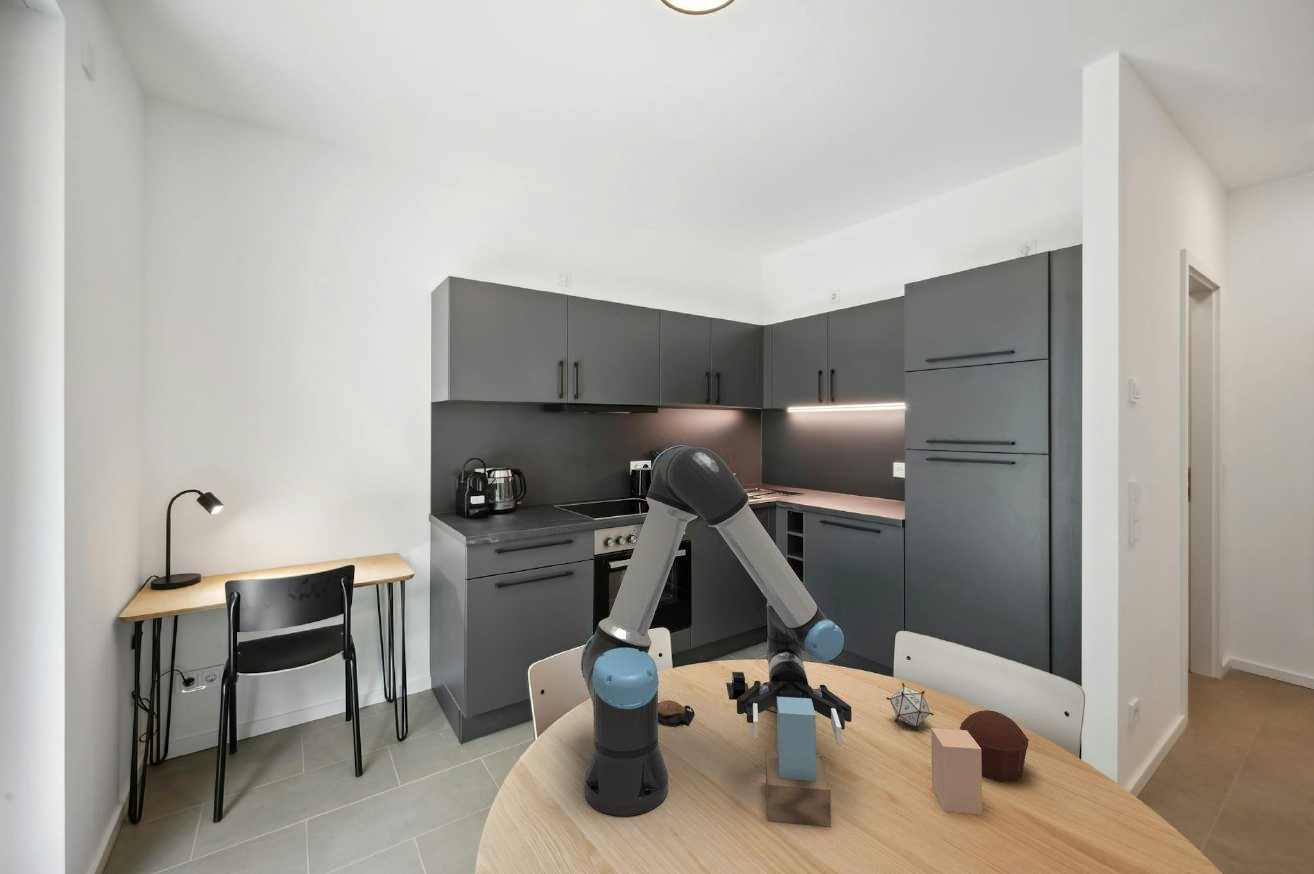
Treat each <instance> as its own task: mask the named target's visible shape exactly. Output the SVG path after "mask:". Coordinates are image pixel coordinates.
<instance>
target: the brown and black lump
mask: <svg viewBox="0 0 1314 874" xmlns="http://www.w3.org/2000/svg"><path fill="white" fill-rule="evenodd" d="M694 718H695V711H694V709H693V708H692V707H690V705H684V706H683V705H682V704H680V703H679V702H677V701H675V700H668V699H667V700H661V701H660V702H658V726H666V727H678V728H680V727H684V726H688V727H689V726H690V725H691V722H692V721H693V719H694Z"/></svg>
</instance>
